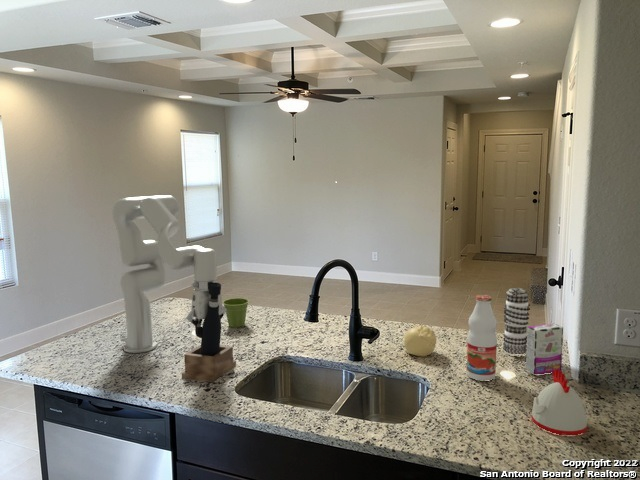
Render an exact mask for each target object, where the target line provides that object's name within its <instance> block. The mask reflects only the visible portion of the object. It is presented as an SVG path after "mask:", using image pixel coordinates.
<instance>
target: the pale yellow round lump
mask: <svg viewBox="0 0 640 480" xmlns="http://www.w3.org/2000/svg"><path fill="white" fill-rule="evenodd" d="M436 339H437V337H436V334H435V330H433V329H432V328H430V327H427V326H425V325H421V324H420V325H419V326H414V327H412V328H410V329H408V330H407V332H406V333H405V335H404V338H403V345H404V348H405V351H406V352H407V353H408V354H409V355H413V356H418V357H427V355H428V356H429V355H430V354H432V353H434V350H435V348H436V344H437V340H436Z"/></svg>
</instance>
